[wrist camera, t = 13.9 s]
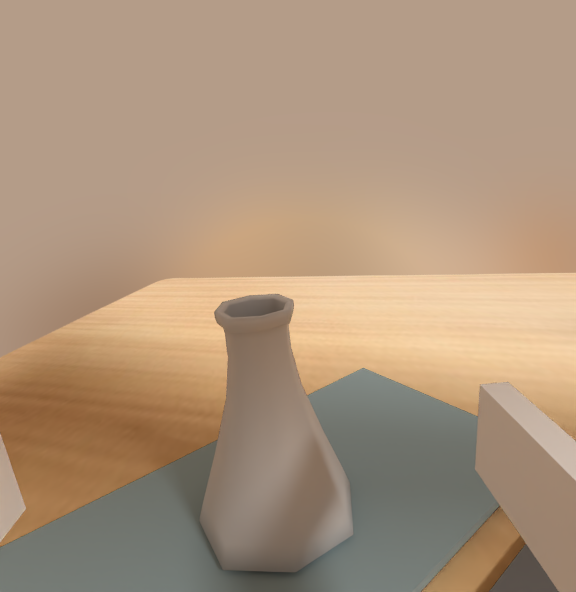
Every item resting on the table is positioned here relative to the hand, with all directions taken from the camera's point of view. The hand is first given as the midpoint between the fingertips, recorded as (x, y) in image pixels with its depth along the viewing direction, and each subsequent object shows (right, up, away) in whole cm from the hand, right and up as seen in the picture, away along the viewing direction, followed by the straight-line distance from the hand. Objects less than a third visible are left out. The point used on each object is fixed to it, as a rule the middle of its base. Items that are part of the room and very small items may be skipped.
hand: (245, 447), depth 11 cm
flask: (+1, -6, +8) cm, 10 cm away
